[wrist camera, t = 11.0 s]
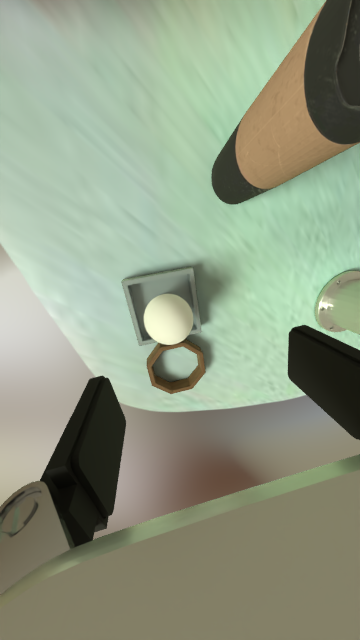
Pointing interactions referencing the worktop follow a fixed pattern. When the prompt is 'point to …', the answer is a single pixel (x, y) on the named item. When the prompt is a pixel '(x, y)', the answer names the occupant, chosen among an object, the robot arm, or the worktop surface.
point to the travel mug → (298, 109)
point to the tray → (154, 285)
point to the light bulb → (168, 319)
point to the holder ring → (180, 384)
